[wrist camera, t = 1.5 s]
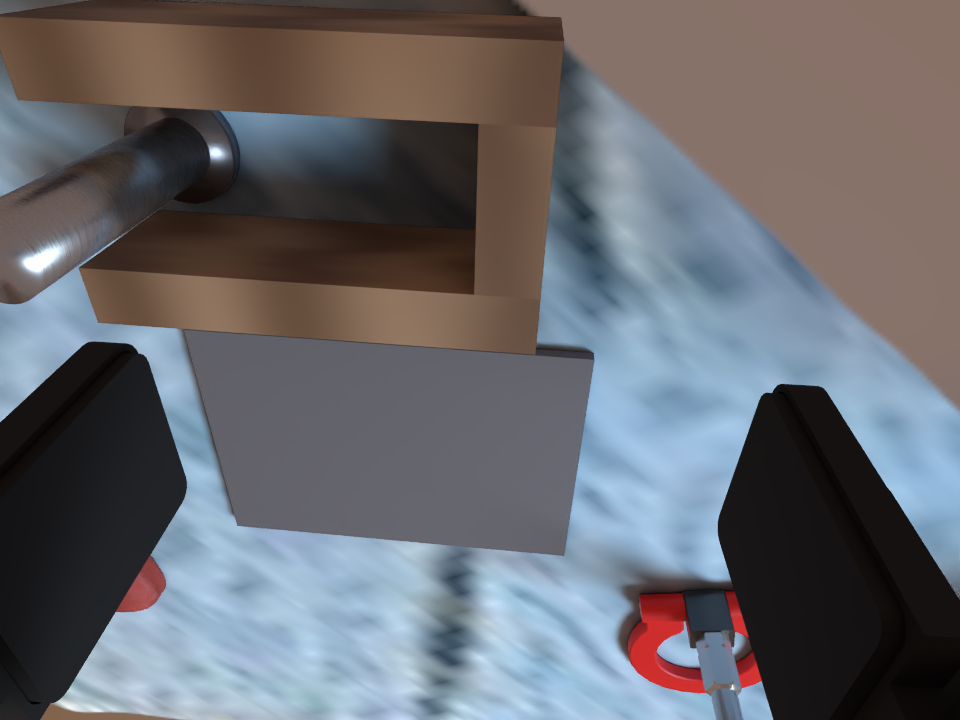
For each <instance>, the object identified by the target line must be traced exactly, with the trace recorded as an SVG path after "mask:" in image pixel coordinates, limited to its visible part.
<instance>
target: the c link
mask: <svg viewBox="0 0 960 720" xmlns="http://www.w3.org/2000/svg"><path fill="white" fill-rule="evenodd" d="M563 48H564V37H563V29H562V20H561V18H559V17H537V16H512V15H488V14H464V13H440V12H415V11H391V10H367V9H343V8H319V7H294V6H270V5H246V4H222V3H197V2H173V1H149V0H90V1H84V2H77V3H71V4H64V5H58V6H51V7H45V8H38V9H32V10H25V11H19V12H12V13H6V14H0V51H1V54H2V57H3V60H4V62H5V65H6V68H7V71H8V74H9V76H10V79H11V82H12V85H13V87H14V90H15V93H16V96H17V99H18V100H28V101H48V102H67V103H86V104H106V105H125V106H144V107H164V108H183V109H202V110H222V111H241V112H260V113H280V114H299V115H319V116H338V117H357V118H377V119H396V120H415V121H435V122H454V123H473V124H479V125H478V165H477V205H476V230H473V229H456V228H440V227H424V226H408V225H392V224H375V223H359V222H343V221H327V220H311V219H294V218H278V217H262V216H246V215H230V214H214V213H197V212H181V211H165V210H159V211H157V212H156V213H155V214H153V215H152V216H150V217H149V218H148V219H146V220H145V221H143V222H142V223H141V224H139V225H138V226H136V227H135V228H134V229H132V230H131V231H129V232H128V233H127V234H125V235H124V236H123V237H121V238H120V239H118V240H117V241H116V242H114V243H113V244H111V245H110V246H109V247H107V248H106V249H104V250H103V251H102V252H100V253H99V254H97V255H96V256H95V257H93V258H92V259H90V260H89V261H88V262H86V263H85V264H83V265H82V266H81V267H79V270H80V273H81V276H82V279H83V282H84V284H85V287H86V290H87V293H88V295H89V298H90V301H91V304H92V307H93V309H94V312H95V315H96V318H97V320H98V323H110V324H123V325H137V326H150V327H164V328H178V329H191V330H205V331H219V332H232V333H246V334H260V335H273V336H287V337H301V338H314V339H328V340H342V341H355V342H369V343H383V344H396V345H410V346H424V347H437V348H451V349H465V350H478V351H492V352H506V353H519V354H533V355H535V353H536V342H537V331H538V320H539V309H540V299H541V288H542V277H543V266H544V255H545V244H546V233H547V222H548V211H549V200H550V189H551V179H552V168H553V157H554V146H555V135H556V124H557V113H558V102H559V91H560V80H561V69H562V59H563Z"/></svg>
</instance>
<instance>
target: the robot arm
mask: <svg viewBox="0 0 960 720" xmlns="http://www.w3.org/2000/svg"><path fill="white" fill-rule="evenodd" d="M186 489H187V481H186V476H185V473H184V470H183V467H182V464H181V461H180V458H179V455H178V452H177V449H176V446H175V442H174V439H173V436H172V433H171V430H170V427H169V424H168V421H167V418H166V415H165V412H164V409H163V405H162V402H161V399H160V396H159V393H158V390H157V387H156V384H155V381H154V378H153V375H152V372H151V368H150V365H149V362H148V360H147V358H146V357H145V356H144V355H142V354H138V352H137V350H136V349H135V348H134V347H133V346H132V345H130V344H125V343H109V342H88V343H86V344H85V345H83V346H82V347H81V348H80V349H79V350H78V351H76V352H75V353H74V354H73V355H72V356H71V357H70V358H69V359H68V360H67V361H66V362H65V363H64V364H63V365H61V366H60V367H59V368H58V369H57V370H56V371H55V372H54V373H53V374H52V375H51V376H50V377H49V378H47V379H46V380H45V381H44V382H43V383H42V384H41V385H40V386H39V387H38V388H37V389H36V390H35V391H33V392H32V393H31V394H30V395H29V396H28V397H27V398H26V399H25V400H24V401H23V402H22V403H21V404H20V405H18V406H17V407H16V408H15V409H14V410H13V411H12V412H11V413H10V414H9V415H8V416H7V417H6V418H4V419H3V420H2V421H1V422H0V720H40V719H41V717H42V716H43V714H44V712H45V711H46V709H47V708H48V706H49V705H50V703H54V702H56V701H58V700H60V699H61V698H62V697H63V696H64V695H65V693H66V692H67V690H68V689H69V688H70V686H71V684H72V683H73V681H74V679H75V678H76V676H77V674H78V673H79V671H80V669H81V668H82V666H83V665H84V663H85V661H86V660H87V658H88V656H89V655H90V653H91V651H92V650H93V648H94V646H95V645H96V643H97V642H98V640H99V638H100V637H101V635H102V633H103V632H104V630H105V628H106V627H107V625H108V624H109V622H110V620H111V619H112V617H113V615H114V614H115V612H116V610H117V609H118V607H119V605H120V604H121V602H122V601H123V599H124V597H125V596H126V594H127V592H128V591H129V589H130V587H131V586H132V584H133V582H134V581H135V579H136V578H137V576H138V574H139V573H140V571H141V569H142V568H143V566H144V564H145V563H146V561H147V560H148V558H149V556H150V555H151V553H152V551H153V550H154V548H155V546H156V545H157V543H158V541H159V540H160V538H161V537H162V535H163V533H164V532H165V530H166V528H167V527H168V525H169V523H170V522H171V520H172V519H173V517H174V515H175V514H176V512H177V510H178V509H179V507H180V505H181V504H182V502H183V500H184V497H185V494H186ZM718 537H719V541H720V545H721V548H722V551H723V555H724V558H725V561H726V565H727V568H728V571H729V574H730V578H731V581H732V584H733V588H734V591H735V594H736V598H737V601H738V604H739V607H740V611H741V614H742V617H743V621H744V624H745V627H746V630H747V634H748V637H749V640H750V644H751V647H752V650H753V654H754V657H755V660H756V663H757V667H758V670H759V673H760V677H761V680H762V683H763V687H764V690H765V693H766V696H767V700H768V703H769V706H770V710H771V713H772V716H773V720H960V600H959V598H958V597H957V595H956V594H955V592H954V591H953V589H952V587H951V586H950V584H949V583H948V581H947V579H946V578H945V576H944V575H943V573H942V572H941V570H940V568H939V567H938V565H937V564H936V562H935V561H934V559H933V557H932V556H931V554H930V553H929V551H928V549H927V548H926V546H925V545H924V543H923V542H922V540H921V538H920V537H919V535H918V534H917V532H916V531H915V529H914V527H913V526H912V524H911V523H910V521H909V519H908V518H907V516H906V515H905V513H904V512H903V510H902V508H901V507H900V505H899V504H898V502H897V501H896V499H895V497H894V496H893V494H892V493H891V491H890V490H889V489H888V488H887V487H886V485H885V484H884V482H883V480H882V479H881V477H880V476H879V474H878V472H877V471H876V469H875V468H874V466H873V465H872V463H871V461H870V460H869V458H868V457H867V455H866V453H865V452H864V450H863V449H862V447H861V445H860V444H859V442H858V441H857V439H856V438H855V436H854V434H853V433H852V431H851V430H850V428H849V426H848V425H847V423H846V422H845V420H844V419H843V417H842V415H841V414H840V412H839V411H838V409H837V407H836V406H835V404H834V403H833V401H832V400H831V398H830V396H829V395H828V393H827V392H826V391H825V390H824V388H822V387H819V386H806V385H790V384H780V385H778V386H777V387H776V388H775V389H774V391H773V393H765V394H763V395H762V396H761V398H760V400H759V403H758V406H757V409H756V412H755V415H754V417H753V420H752V423H751V426H750V429H749V432H748V435H747V438H746V440H745V443H744V446H743V449H742V452H741V455H740V458H739V461H738V463H737V466H736V469H735V472H734V475H733V478H732V481H731V483H730V486H729V489H728V492H727V495H726V498H725V501H724V504H723V506H722V509H721V512H720V515H719V519H718Z"/></svg>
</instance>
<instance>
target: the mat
mask: <svg viewBox="0 0 960 720" xmlns="http://www.w3.org/2000/svg"><path fill="white" fill-rule="evenodd" d="M184 333H185V337H186V340H187V344H188V347H189V351H190V355H191V358H192V362H193V366H194V369H195V373H196V377H197V380H198V384H199V388H200V391H201V395H202V398H203V402H204V406H205V409H206V413H207V417H208V420H209V424H210V428H211V431H212V435H213V438H214V442H215V446H216V449H217V453H218V457H219V460H220V464H221V468H222V471H223V475H224V479H225V482H226V486H227V489H228V493H229V497H230V500H231V504H232V508H233V511H234V515H235V519H236V522H237V526H245V527H256V528H267V529H278V530H289V531H300V532H311V533H322V534H333V535H344V536H355V537H365V538H376V539H387V540H398V541H409V542H420V543H431V544H442V545H453V546H464V547H474V548H485V549H496V550H507V551H518V552H529V553H540V554H551V555H562V556H564V552H565V545H566V539H567V532H568V526H569V520H570V513H571V507H572V500H573V494H574V487H575V481H576V474H577V468H578V462H579V455H580V449H581V442H582V436H583V429H584V423H585V416H586V410H587V404H588V397H589V391H590V384H591V378H592V371H593V365H594V353H587V352H573V351H559V350H545V349H536V353H535V355H533V354H519V353H506V352H492V351H478V350H465V349H451V348H437V347H424V346H410V345H396V344H383V343H369V342H355V341H342V340H328V339H314V338H301V337H287V336H273V335H260V334H246V333H232V332H219V331H205V330H191V329H184Z"/></svg>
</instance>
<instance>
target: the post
mask: <svg viewBox="0 0 960 720" xmlns="http://www.w3.org/2000/svg"><path fill="white" fill-rule="evenodd" d="M239 165H240V151H239V146H238V142H237V139H236V136H235V134H234V132H233V130H232V128H231V126H230V124H229V123H228V121H227V120H226V119H225V117H224V116H223V115H222V114H221V113H220V111H219V110H202V109H183V108H164V107H144V106H132V107H131V109H130V111H129V112H128V114H127V117H126V120H125V126H124V137H123V138H121V139H119V140H117V141H115V142H113V143H111V144H108V145H106V146H104V147H102V148H100V149H98V150H96V151H94V152H92V153H90V154H88V155H86V156H84V157H82V158H80V159H78V160H76V161H74V162H71V163H69V164H67V165H65V166H63V167H61V168H59V169H57V170H55V171H53V172H51V173H49V174H47V175H45V176H43V177H41V178H39V179H36V180H34V181H32V182H30V183H28V184H26V185H24V186H22V187H20V188H18V189H16V190H14V191H12V192H10V193H8V194H6V195H4V196H2V197H0V302H1V303H6V304H20V303H24V302H26V301H29V300H30V299H32V298H33V297H34V296H36V295H37V294H39V293H40V292H41V291H43V290H44V289H46V288H47V287H49V286H50V285H51V284H53V283H54V282H56V281H57V280H58V279H60V278H61V277H63V276H64V275H65V274H67V273H68V272H70V271H71V270H72V269H74V268H75V267H77V266H78V265H79V264H81V263H82V262H84V261H85V260H86V259H88V258H89V257H91V256H92V255H94V254H95V253H96V252H98V251H99V250H101V249H102V248H103V247H105V246H106V245H108V244H109V243H110V242H112V241H113V240H115V239H116V238H117V237H119V236H120V235H122V234H123V233H124V232H126V231H127V230H129V229H130V228H131V227H133V226H134V225H136V224H137V223H139V222H140V221H141V220H143V219H144V218H146V217H147V216H148V215H150V214H151V213H153V212H154V211H155V210H157V209H158V208H160V207H161V206H162V205H164V204H165V203H167V202H168V201H169V200H171V199H174V200H177V201H181V202H185V203H204V202H207V201H210V200H212V199H214V198H216V197H218V196H219V195H220V194H222V193H223V192H224V191H225V190H227V189H228V188H229V187H230V186H231V185H232V183H233V182H234V180H235V178H236V176H237V174H238V171H239Z"/></svg>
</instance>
